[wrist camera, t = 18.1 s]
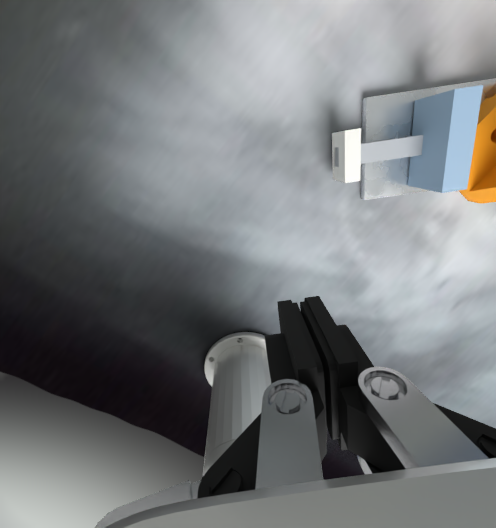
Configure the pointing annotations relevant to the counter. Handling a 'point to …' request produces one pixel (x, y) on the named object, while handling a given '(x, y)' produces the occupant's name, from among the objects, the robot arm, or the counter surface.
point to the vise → (397, 136)
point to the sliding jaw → (421, 143)
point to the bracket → (483, 156)
